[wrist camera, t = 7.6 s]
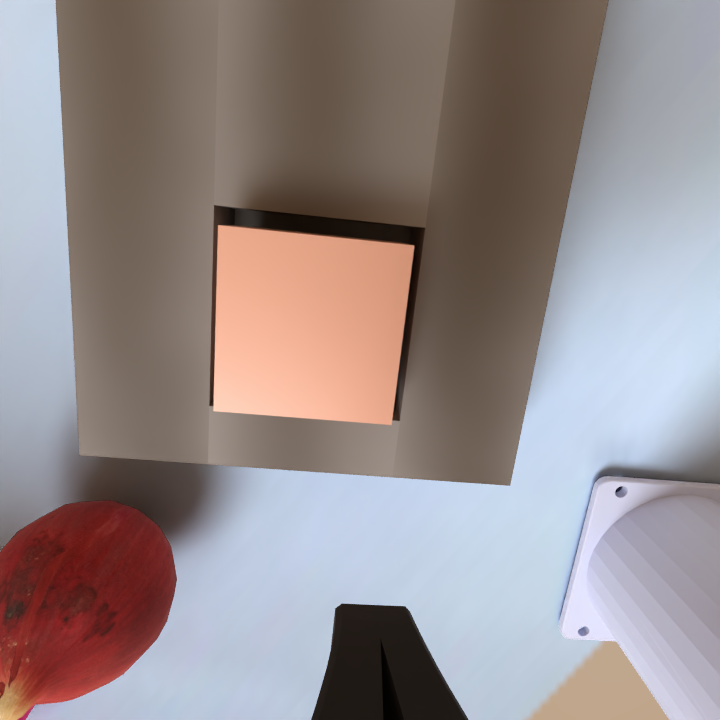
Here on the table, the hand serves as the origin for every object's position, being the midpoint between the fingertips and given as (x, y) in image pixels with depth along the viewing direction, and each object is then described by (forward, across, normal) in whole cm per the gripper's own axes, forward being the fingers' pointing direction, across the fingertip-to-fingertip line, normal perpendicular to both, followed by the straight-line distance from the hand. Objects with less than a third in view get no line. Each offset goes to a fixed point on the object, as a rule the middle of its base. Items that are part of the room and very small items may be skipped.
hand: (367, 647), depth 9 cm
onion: (+11, +9, +5) cm, 15 cm away
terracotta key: (+8, +2, -5) cm, 10 cm away
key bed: (+10, +2, -11) cm, 15 cm away
